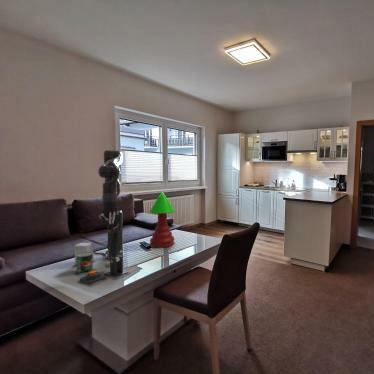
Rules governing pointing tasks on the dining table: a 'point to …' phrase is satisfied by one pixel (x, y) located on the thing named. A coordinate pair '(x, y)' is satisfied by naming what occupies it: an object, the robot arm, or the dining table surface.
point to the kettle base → (116, 267)
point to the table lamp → (162, 223)
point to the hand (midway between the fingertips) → (110, 230)
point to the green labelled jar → (83, 249)
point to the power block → (92, 278)
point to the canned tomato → (84, 262)
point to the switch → (109, 263)
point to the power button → (92, 272)
